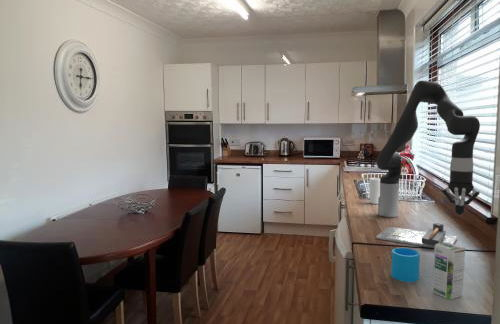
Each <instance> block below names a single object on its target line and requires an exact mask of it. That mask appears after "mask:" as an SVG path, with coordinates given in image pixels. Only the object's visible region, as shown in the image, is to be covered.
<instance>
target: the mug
mask: <svg viewBox="0 0 500 324" xmlns="http://www.w3.org/2000/svg"><path fill="white" fill-rule="evenodd" d="M420 254H421V253H420V252H419V251H417V250H416V249H412V248H407V247H397V248H395V247H394V248H393V249H392V250H391V271H390V272H391V273H390V275H391V277H392V279H394V278H395V279H394V280H396V279H397V281H399V282H403V281H405V282H404V283H413V282H414V281H415V282H417V280H418V281H419V278H420V257H421V256H420Z"/></svg>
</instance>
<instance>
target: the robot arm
mask: <svg viewBox="0 0 500 324" xmlns="http://www.w3.org/2000/svg"><path fill="white" fill-rule="evenodd" d="M420 103H426V104H434V105H436V112H437V115H438V116H439V117H440V118H441V119H442V120H443V122H445V123H444V124H445V125H446V128H447V132H448V133H450V134H451V135H453V136H463V138H462V139H461V140H458V141H455V142H453V143H452V145H451V159H450V164H449V165H450V166H449V169H450V170H449V183H448V185H447V187H445V188H442V190H441V191H442V193H443V194H444V196H445V197H446V198H447V200H448V201H449V203H451V204H454V206H455V214H457V215H458V216H462V215H463V214H465V206H467V205H470V203H472V202H473V201H474V200H475V199H476V198H477V197H479V195H480V191H479V190H477V189H475V187H474V184H473V180H474V179H473V178H474V177H473V176H474V146H475V143H476V139H477V138H478V134H479V133H480V132H479V131H480V128H481V123H480V121H479V118H478V117H476V116H473V115H465V116H464V112H463V111H462V109H461V108H460V107H459V106H457V104H455V102H453V101H452V100H451V99H450V97H449V95H448V94H447V92H446V90H445V89H444V87H443V86H442V84H441V83H439V82H435V81H429V80H419V81H417V82H416V84H415V85H414V86H413V88H412V89H411V93H410V95H409V98H408V100H407V102H406V105H405V108H404V109H403V111H402V113H401V115H400V117H399V119H398V120H397V123H396V124H395V126H394V128H393V130H392V133H391V135H390V136H389V138H388V140H387V141H386V144H385V145H383V148H382V149H381V150H380V152H379V154H378V155H377V157H376V158H377V159H376V166H377V168H378V169H379V170H382V171H387V173H385V174H384V175H382V176H381V177H380V197H379V198H378V204H377V209H378V210H377V216H380V217H384V218H396V217H399V198H400V197H399V196H400V195H399V194H400V193H399V190H400V179H401V172H402V162H403V161H402V156H401V154H400V153H399V152H397V151H398V150H399V149H401V148H402V147H403V146H405V145H406V144H408V142H410V141H411V140H412V138H413V137H414V135H415V133H416V132H417V130H418V128H419V123H418V121H419V120H418V117H417V116H418V115H417V110H418V107H419V105H420ZM450 193H452V194H453V195H454V197H453V196H452V195H451V194H450ZM469 194H471V197H469V198H468V199H467V200H466V198H467V197H468V196H469Z"/></svg>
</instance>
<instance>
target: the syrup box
mask: <svg viewBox="0 0 500 324" xmlns="http://www.w3.org/2000/svg"><path fill="white" fill-rule="evenodd" d="M465 254H466V247H465V246H460V245H457V244H455V243H454V244H452V243H449V242H442V243H438V244H435V248H434V255H433V256H434V258H433V277H432V279H433V280H432V282H433V283H432V294H436V295H438V296H441V297H442V298H444V299H446V300H449V301H451V300H454V299H457V298H460V297H462V296H463V293H464V291H463V289H464V272H465V257H466V255H465Z"/></svg>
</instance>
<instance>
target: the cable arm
mask: <svg viewBox="0 0 500 324" xmlns="http://www.w3.org/2000/svg"><path fill="white" fill-rule="evenodd" d="M444 227H445V226H444V224H442V223H439V222H438V223H437V222H436V223H435V222H434V223H433V224H432V228H429V229H428V231H426V232H427V233H426V234H425V235H424V236H423V237H422V243H424V244H430V245H435V244H438V243H441V241H442V240H443V238H444V237H445V235H446V230H444Z"/></svg>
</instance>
